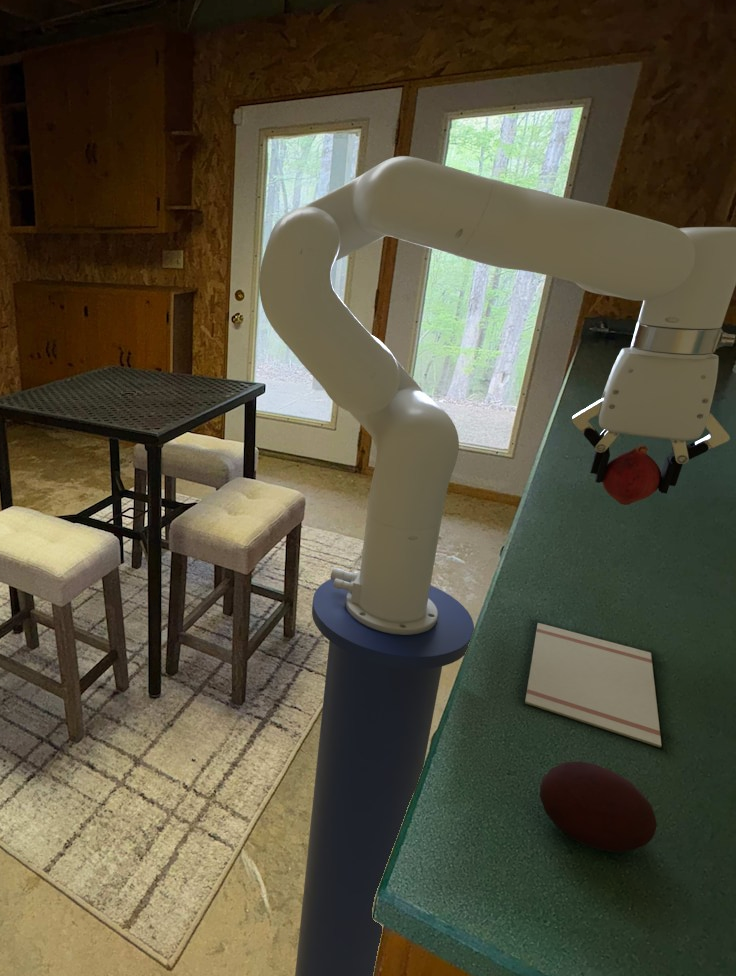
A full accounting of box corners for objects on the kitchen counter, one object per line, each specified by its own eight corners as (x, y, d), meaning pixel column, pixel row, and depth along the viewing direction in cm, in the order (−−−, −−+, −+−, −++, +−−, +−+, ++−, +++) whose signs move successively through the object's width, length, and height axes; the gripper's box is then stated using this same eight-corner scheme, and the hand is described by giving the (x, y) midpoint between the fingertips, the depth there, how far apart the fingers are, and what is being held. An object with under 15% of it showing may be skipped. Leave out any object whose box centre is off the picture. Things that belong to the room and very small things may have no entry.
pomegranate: (626, 516, 77) (645, 455, 74) (584, 498, 82) (600, 440, 79) (662, 510, 78) (682, 450, 75) (618, 493, 83) (635, 436, 81)
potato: (532, 780, 60) (545, 732, 58) (639, 816, 56) (657, 765, 54) (533, 840, 54) (547, 789, 52) (652, 885, 50) (673, 832, 48)
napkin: (524, 703, 70) (525, 701, 70) (537, 624, 84) (537, 622, 84) (660, 748, 64) (661, 745, 63) (650, 654, 77) (651, 652, 77)
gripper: (765, 342, 71) (712, 488, 78) (583, 331, 80) (550, 463, 86) (782, 352, 65) (724, 509, 72) (584, 339, 74) (548, 480, 81)
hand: (629, 483), depth 79 cm, fingers closed on pomegranate, 5 cm apart
